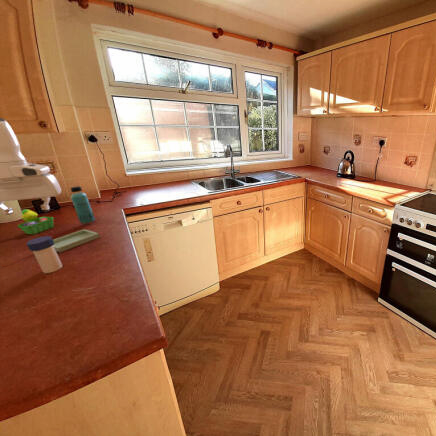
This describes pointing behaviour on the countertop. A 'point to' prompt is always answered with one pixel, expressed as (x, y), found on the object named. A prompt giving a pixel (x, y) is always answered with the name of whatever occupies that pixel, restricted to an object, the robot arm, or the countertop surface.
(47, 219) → the fruit basket
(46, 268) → the jam jar
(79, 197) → the beverage bottle
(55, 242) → the serving tray
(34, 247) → the jar lid
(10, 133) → the robot arm
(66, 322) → the countertop surface
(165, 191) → the countertop surface
